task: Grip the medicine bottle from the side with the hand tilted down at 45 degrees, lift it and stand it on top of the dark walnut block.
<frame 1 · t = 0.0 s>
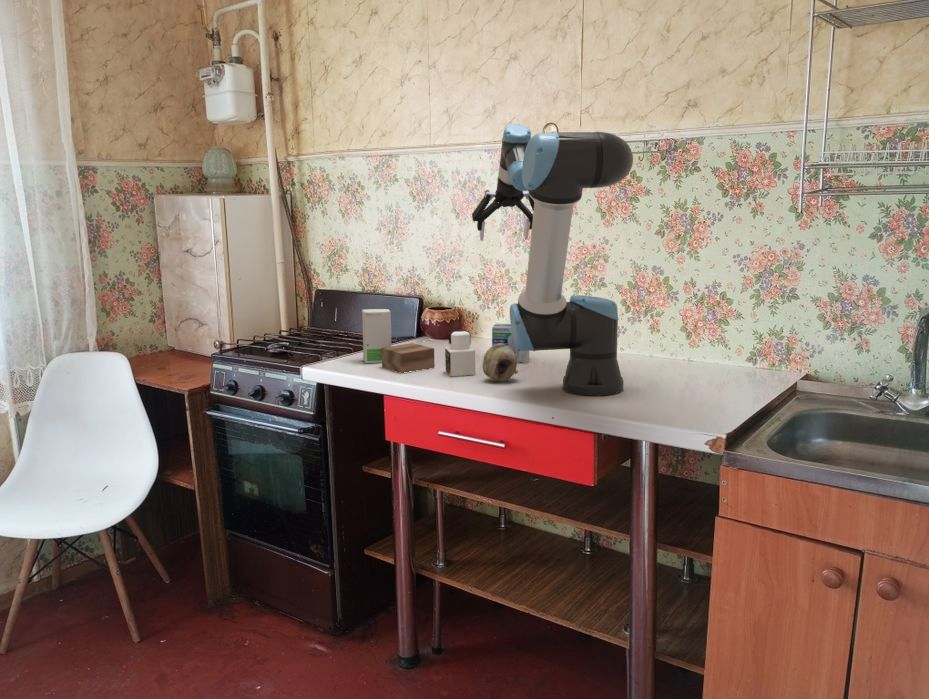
hand: (503, 237, 227), 36 cm above the worktop, tool tilted 35°, fingers open, 13 cm apart
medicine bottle: (460, 374, 209), on the worktop
walnut block: (408, 368, 217), on the worktop
skincare box: (378, 361, 227), on the worktop
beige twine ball: (500, 381, 199), on the worktop
light bulb box: (510, 361, 224), on the worktop
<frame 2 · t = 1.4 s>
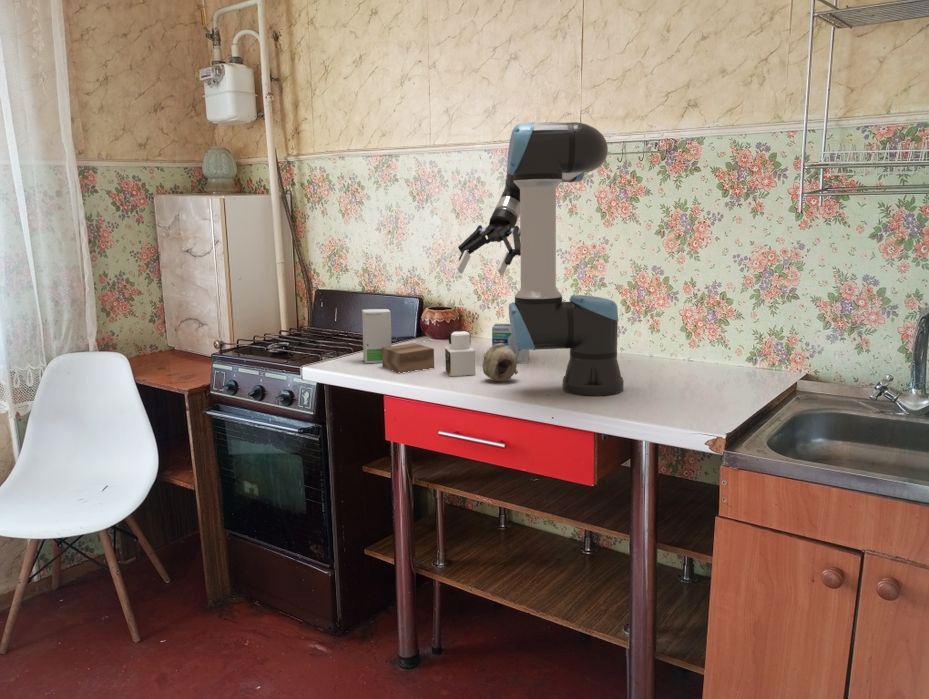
hand: (479, 271, 212), 27 cm above the worktop, tool tilted 45°, fingers open, 13 cm apart
nothing on the worktop moved.
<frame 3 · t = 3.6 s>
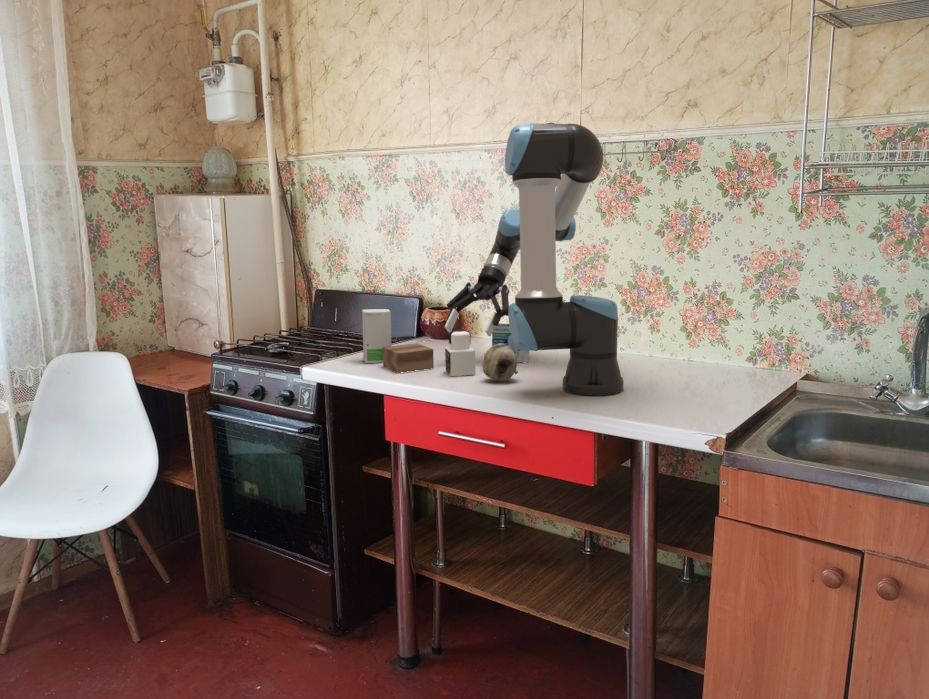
hand: (467, 331, 211), 11 cm above the worktop, tool tilted 45°, fingers open, 13 cm apart
nothing on the worktop moved.
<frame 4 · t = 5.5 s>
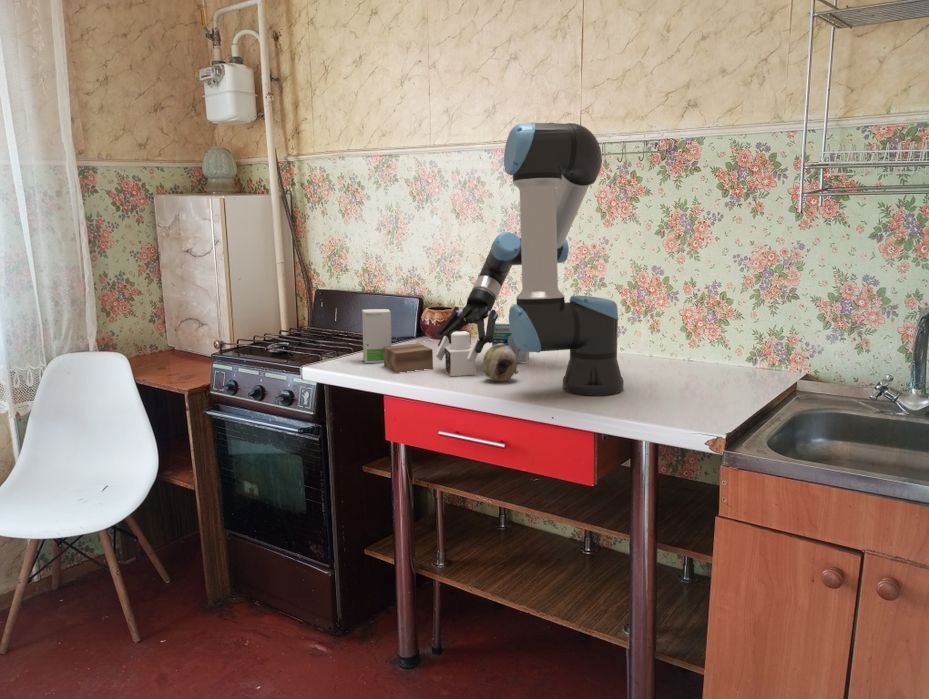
hand: (453, 359, 205), 4 cm above the worktop, tool tilted 45°, fingers closed on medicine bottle, 10 cm apart
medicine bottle: (460, 373, 209), on the worktop, touching gripper
everything else where it was.
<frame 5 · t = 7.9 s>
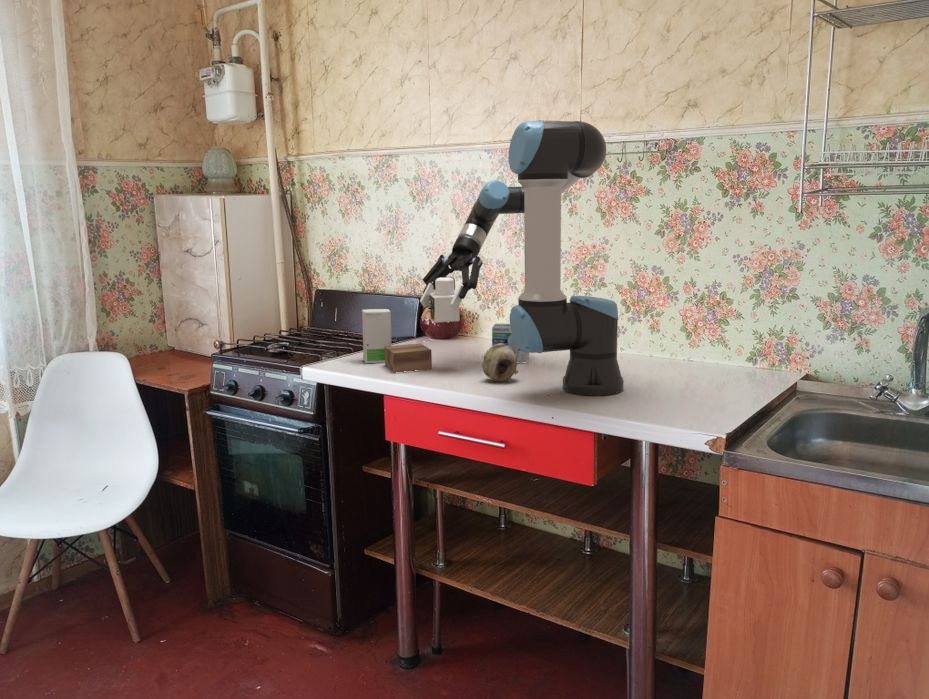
hand: (438, 305, 206), 19 cm above the worktop, tool tilted 45°, fingers closed on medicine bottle, 10 cm apart
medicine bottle: (445, 320, 210), point 14 cm above the worktop, touching gripper
when the fingers open (12 cm above the worktop, at t = 10.2 s): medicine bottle drops 2 cm, resting on walnut block.
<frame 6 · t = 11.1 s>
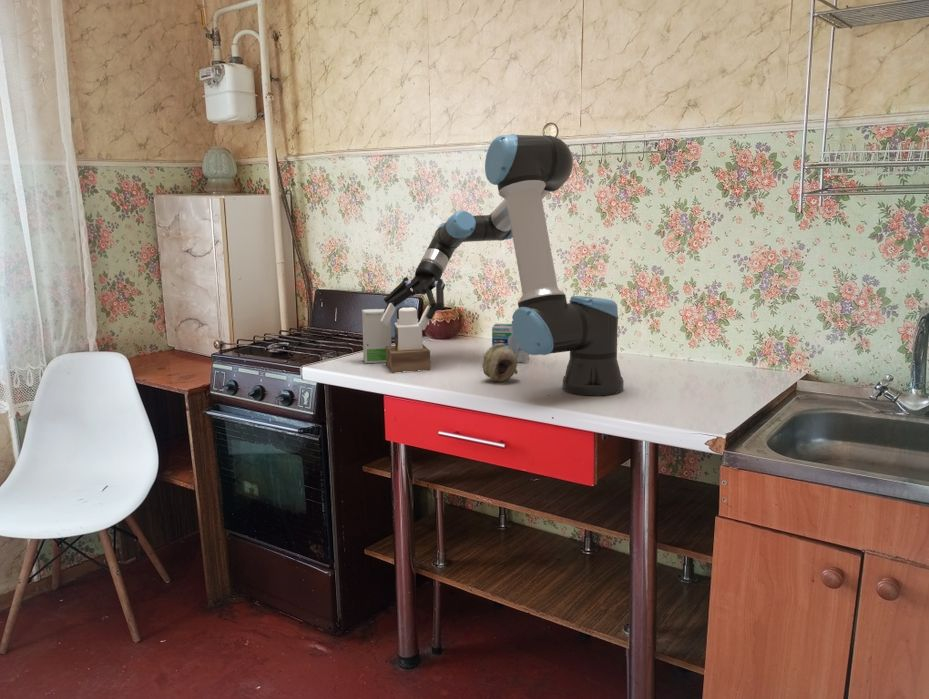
hand: (402, 325, 213), 13 cm above the worktop, tool tilted 45°, fingers open, 13 cm apart
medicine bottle: (408, 348, 216), point 5 cm above the worktop, touching walnut block
walnut block: (408, 368, 217), on the worktop, touching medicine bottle
everything else where it was.
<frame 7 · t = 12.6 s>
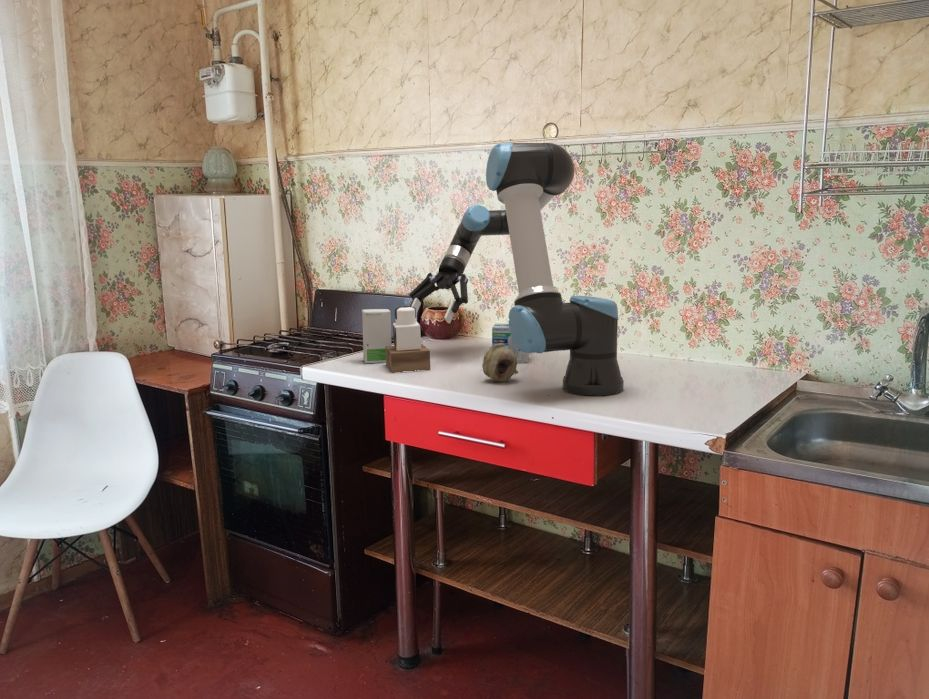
hand: (428, 319, 223), 13 cm above the worktop, tool tilted 45°, fingers open, 13 cm apart
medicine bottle: (407, 348, 216), point 6 cm above the worktop
walnut block: (407, 368, 217), on the worktop
everything else where it was.
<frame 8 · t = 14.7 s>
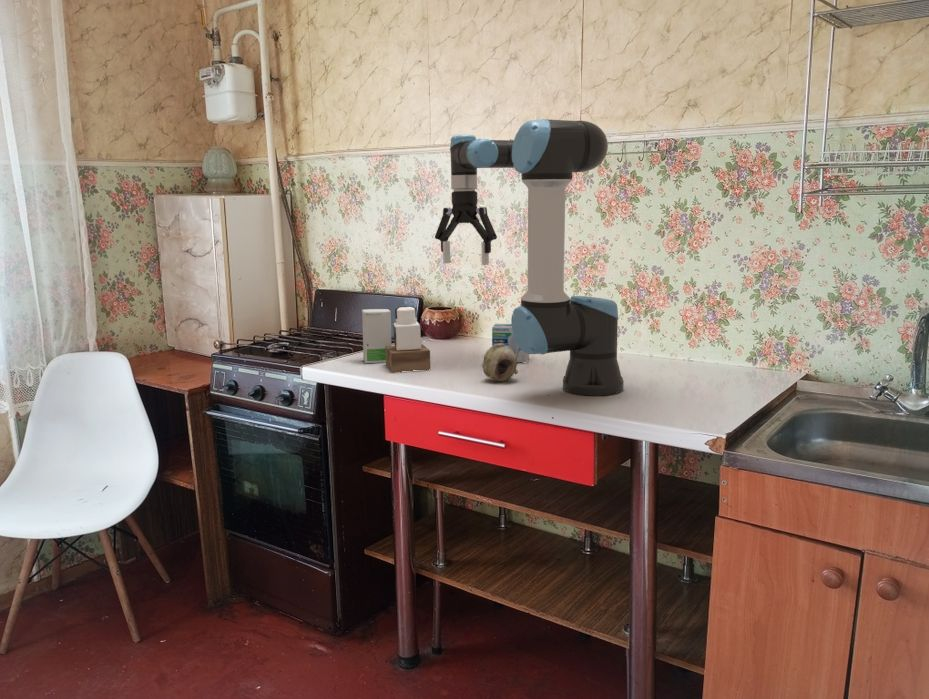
hand: (465, 264, 222), 29 cm above the worktop, tool pointing down, fingers open, 13 cm apart
nothing on the worktop moved.
at the end: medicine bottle inside the target area on the walnut block (0.5 cm from its centre), point 5.9 cm above the walnut block's base; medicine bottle tilted 2°; the gripper is holding nothing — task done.
